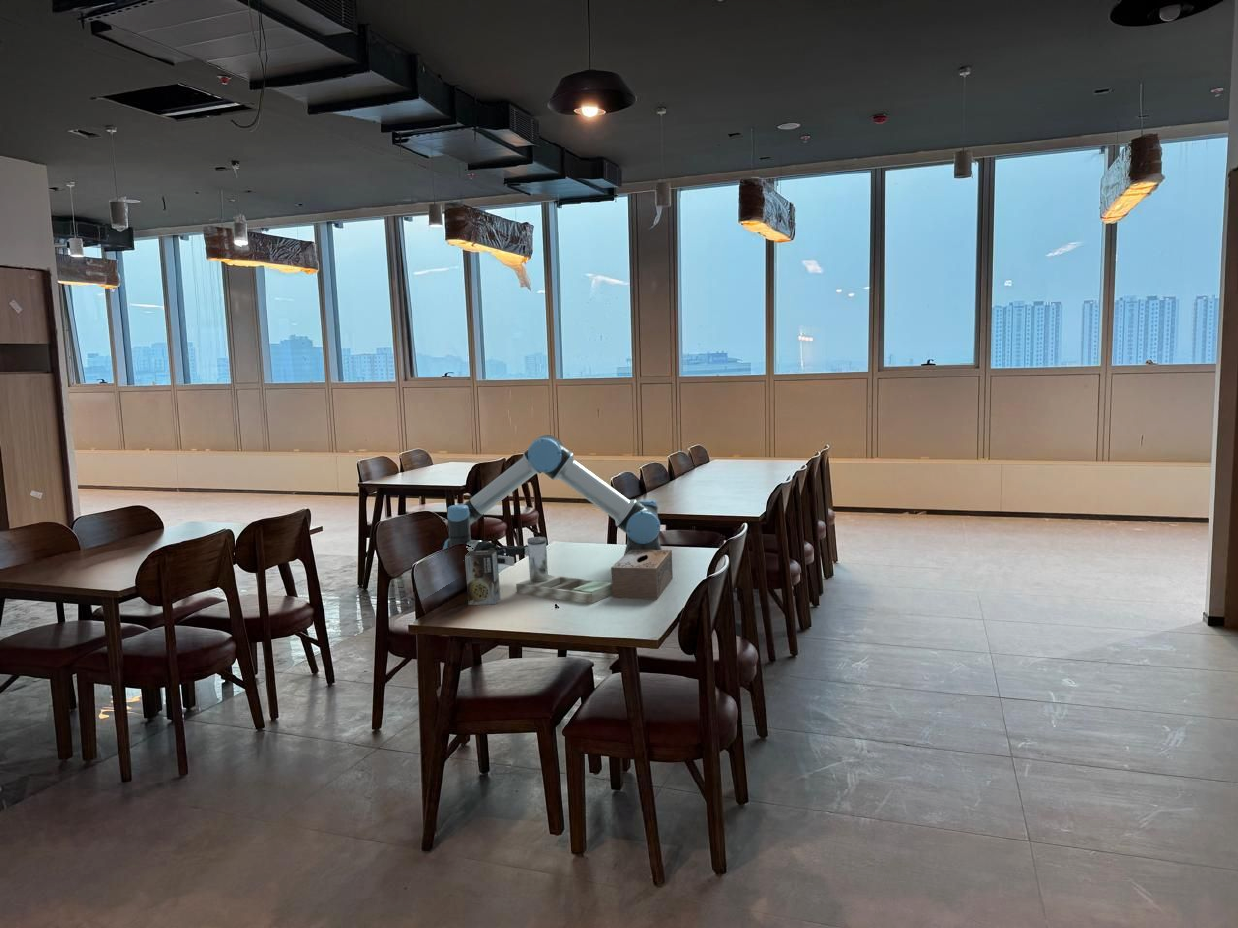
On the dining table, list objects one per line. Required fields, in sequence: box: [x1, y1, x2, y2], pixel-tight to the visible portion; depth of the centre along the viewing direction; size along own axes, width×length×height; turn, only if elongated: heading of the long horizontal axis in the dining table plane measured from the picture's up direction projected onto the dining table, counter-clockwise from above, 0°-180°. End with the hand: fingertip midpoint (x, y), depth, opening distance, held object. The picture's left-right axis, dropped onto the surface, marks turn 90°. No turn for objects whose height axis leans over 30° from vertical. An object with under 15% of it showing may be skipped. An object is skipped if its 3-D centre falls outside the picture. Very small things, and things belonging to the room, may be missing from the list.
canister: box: [527, 536, 549, 583], centre depth 271 cm, size 6×6×14 cm
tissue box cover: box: [610, 549, 674, 600], centre depth 268 cm, size 26×14×10 cm, turn 166°
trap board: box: [515, 574, 612, 605], centre depth 266 cm, size 30×14×3 cm, turn 56°
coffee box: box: [464, 550, 501, 606], centre depth 258 cm, size 9×6×16 cm
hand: (527, 557), depth 273 cm, fingers open, 13 cm apart
